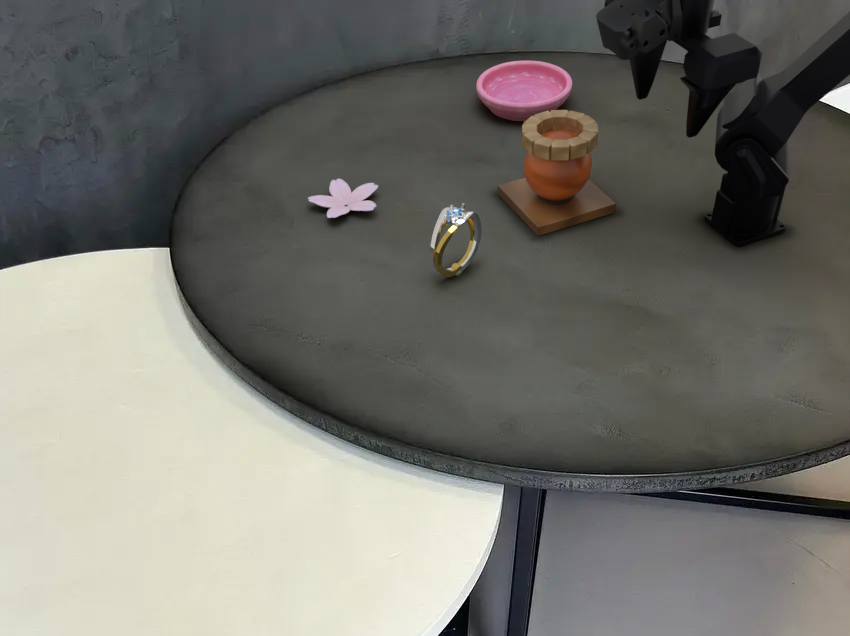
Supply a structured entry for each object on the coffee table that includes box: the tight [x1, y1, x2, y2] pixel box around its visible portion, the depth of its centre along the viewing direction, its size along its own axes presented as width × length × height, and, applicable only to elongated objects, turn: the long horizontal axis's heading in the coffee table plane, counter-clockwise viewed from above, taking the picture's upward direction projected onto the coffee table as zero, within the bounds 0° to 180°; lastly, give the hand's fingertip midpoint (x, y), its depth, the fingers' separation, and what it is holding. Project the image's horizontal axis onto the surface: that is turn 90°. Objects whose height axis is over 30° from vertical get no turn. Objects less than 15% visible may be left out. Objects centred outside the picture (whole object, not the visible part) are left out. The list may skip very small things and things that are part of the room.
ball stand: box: [497, 129, 617, 237], centre depth 112 cm, size 10×10×9 cm
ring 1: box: [429, 202, 483, 278], centre depth 104 cm, size 7×3×8 cm, turn 132°
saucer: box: [476, 60, 573, 122], centre depth 130 cm, size 12×12×3 cm
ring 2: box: [521, 109, 599, 161], centre depth 108 cm, size 8×8×2 cm
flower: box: [307, 177, 379, 219], centre depth 116 cm, size 10×10×2 cm
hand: (666, 116), depth 103 cm, fingers open, 9 cm apart
